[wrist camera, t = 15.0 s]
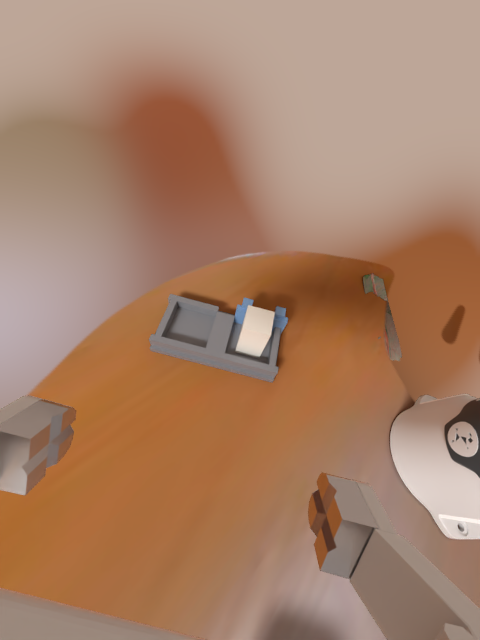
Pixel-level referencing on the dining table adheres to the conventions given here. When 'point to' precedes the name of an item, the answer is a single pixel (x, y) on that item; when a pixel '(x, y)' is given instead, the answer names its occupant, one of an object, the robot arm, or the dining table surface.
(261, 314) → the white rectangular block
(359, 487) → the robot arm
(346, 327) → the dining table surface
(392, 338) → the map
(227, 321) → the two-compartment grey tray
